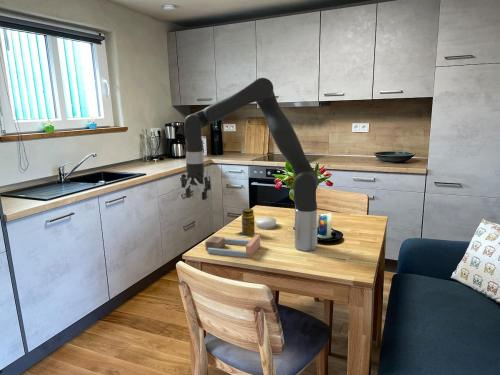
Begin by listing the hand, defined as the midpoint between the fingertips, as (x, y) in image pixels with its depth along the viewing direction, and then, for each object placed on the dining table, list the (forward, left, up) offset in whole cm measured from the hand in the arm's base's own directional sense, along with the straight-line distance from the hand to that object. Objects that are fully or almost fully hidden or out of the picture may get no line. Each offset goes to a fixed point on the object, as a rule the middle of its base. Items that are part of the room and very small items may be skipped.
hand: (196, 198), depth 163 cm
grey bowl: (-23, -33, -21) cm, 45 cm away
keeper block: (-9, +1, -22) cm, 23 cm away
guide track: (-18, +1, -21) cm, 28 cm away
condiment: (-17, -19, -22) cm, 33 cm away
